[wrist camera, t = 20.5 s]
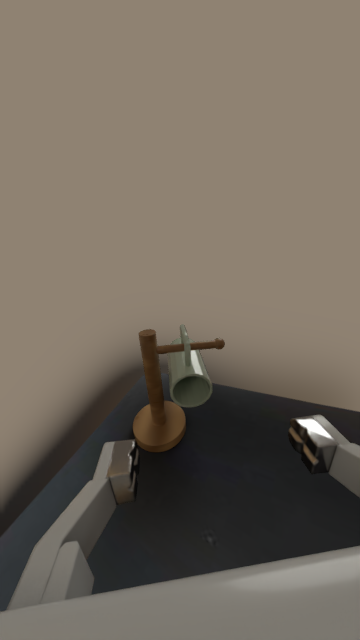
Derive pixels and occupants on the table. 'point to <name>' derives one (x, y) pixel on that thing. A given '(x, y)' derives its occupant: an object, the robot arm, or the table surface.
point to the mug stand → (161, 397)
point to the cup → (188, 374)
